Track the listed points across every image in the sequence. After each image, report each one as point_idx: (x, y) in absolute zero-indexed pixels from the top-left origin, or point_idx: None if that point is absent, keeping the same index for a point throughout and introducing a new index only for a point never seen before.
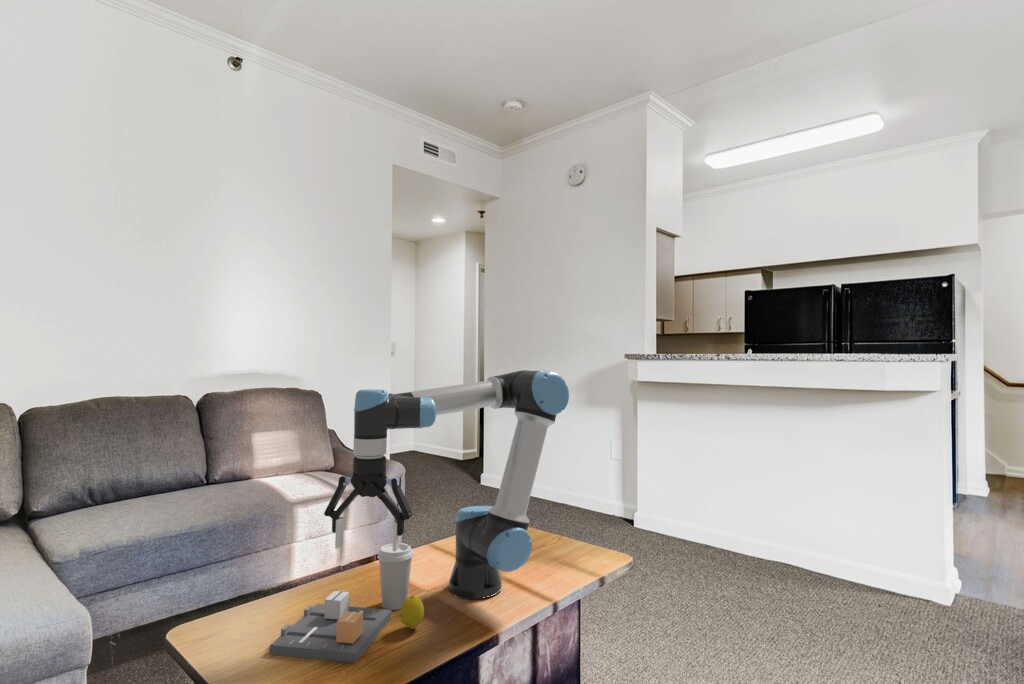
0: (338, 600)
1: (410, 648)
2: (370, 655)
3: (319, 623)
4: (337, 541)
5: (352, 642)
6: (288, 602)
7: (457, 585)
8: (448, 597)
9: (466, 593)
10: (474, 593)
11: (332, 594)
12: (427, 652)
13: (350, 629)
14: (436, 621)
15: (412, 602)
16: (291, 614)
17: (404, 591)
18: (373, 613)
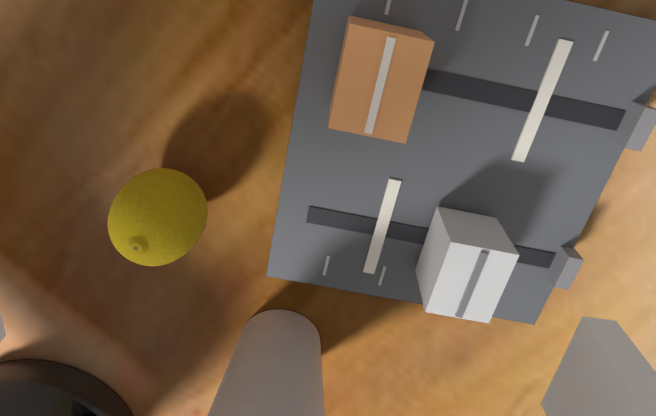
0: (459, 245)
1: (146, 53)
2: (280, 4)
3: (509, 190)
4: (632, 374)
5: (351, 16)
6: None
7: (81, 411)
8: (121, 375)
9: (49, 376)
10: (20, 373)
11: (493, 295)
12: (74, 21)
13: (363, 23)
14: None
15: (134, 215)
16: (609, 294)
17: (232, 358)
18: (324, 254)
